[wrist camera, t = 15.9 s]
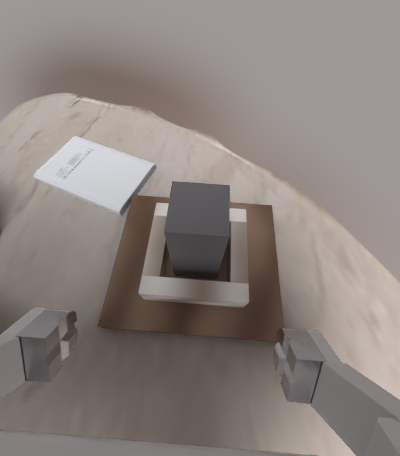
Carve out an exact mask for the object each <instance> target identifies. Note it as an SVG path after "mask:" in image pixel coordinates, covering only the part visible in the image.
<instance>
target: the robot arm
mask: <svg viewBox="0 0 400 456" xmlns="http://www.w3.org/2000/svg"><path fill="white" fill-rule="evenodd" d="M76 320H77V318H76V313H75V312H74V311H70V310H61V309H51V308H49V309H48V308H40V307H36V308H32V309H31V310H30V311H29V312H27V313H26V314H25V315H24V316H23V317H21V318H20V319H19V320H18V321H16V322H15V323H14V324H13V325H11V326H10V327H9V328H8V329H7V330H5V331H4V332H3V333H2V334H0V400H1V399H2V398H4V397H5V396H6V395H8V394H9V393H11V392H12V391H14V390H15V389H16V388H18V387H19V386H21V385H22V384H24V383H25V382H26V381H43V382H51V381H52V379H53V378H54V376H55V375H56V374H57V372H58V371H59V369H60V368H61V367H62V360H63V359H65V358H66V357H68V356H69V355H70V354H71V353H72V351H73V350H74V347H75V345H76V342H77V337H78V331H77V329H76V327H75V326H74V325H73V324H74V323H75V322H76ZM276 337H277V339H278V341H279V342H278V343H277V344H276V345H275V346H274V353H273V356H274V365H275V369H276V372H277V373H278V374H279V375H280V376H281V377H282V379H281V386H282V389H283V392H284V394H285V397H286V400H287V401H289V402H298V403H307V404H311V406H312V407H313V408H314V409H315V410H316V411H317V412H318V414H319V415H320V416H321V417H322V418H323V419H324V420H325V421H326V422H327V424H328V425H329V426H330V427H331V428H332V429H333V430H334V431H335V432H336V434H337V435H338V436H339V437H340V438H341V439H342V440H343V441H344V442H345V444H346V445H347V446H348V447H349V448H350V449H351V450H352V451H353V452H354V454H355V455H356V456H400V400H399V399H397V398H396V397H395V396H393V395H392V394H390V393H389V392H387V391H386V390H384V389H383V388H381V387H380V386H378V385H377V384H375V383H374V382H372V381H371V380H370V379H368V378H367V377H365V376H364V375H362V374H361V373H359V372H358V371H356V370H355V369H353V368H352V367H350V366H349V365H347V364H343V363H342V362H341V361H340V359H339V358H338V357H337V355H336V354H335V352H334V351H333V350H332V348H331V347H330V345H329V344H328V343H327V341H326V340H325V338H324V337H323V335H322V334H321V333H320V332H319V331H318V330H298V329H285V328H279V330H278V332H277V336H276ZM0 456H317V455H304V454H292V453H280V452H268V451H255V450H243V449H231V448H218V447H206V446H194V445H181V444H169V443H157V442H144V441H132V440H120V439H108V438H95V437H83V436H71V435H58V434H46V433H34V432H22V431H9V430H0Z"/></svg>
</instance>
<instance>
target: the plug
mask: <svg viewBox="0 0 400 456" xmlns="http://www.w3.org/2000/svg"><path fill="white" fill-rule="evenodd" d="M229 210H230V185H216V184H202V183H188V182H174V181H172V187H171V193H170V199H169V205H168V211H167V217H166V223H165V229H164V234H165V238H166V242H167V246H168V251H169V255H170V259H171V263H172V267H173V271H174V276H183V277H196V278H209V279H216V278H217V275H218V272H219V268H220V265H221V262H222V259H223V255H224V252H225V249H226V246H227V243H228V239H229Z"/></svg>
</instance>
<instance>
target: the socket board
mask: <svg viewBox="0 0 400 456" xmlns="http://www.w3.org/2000/svg"><path fill="white" fill-rule="evenodd" d="M169 199H170V198H164V197H151V196H137V195H133V197H132V201H131V204H130V208H129V212H128V216H127V219H126V223H125V227H124V231H123V234H122V238H121V242H120V246H119V249H118V253H117V257H116V261H115V264H114V268H113V272H112V276H111V279H110V283H109V287H108V290H107V294H106V298H105V302H104V305H103V309H102V313H101V317H100V320H99V324H98V327H102V328H114V329H126V330H138V331H151V332H163V333H175V334H187V335H199V336H212V337H224V338H236V339H248V340H261V341H273V342H279V341H278V339H277V337H276V336H277V332H278V330H279V328H284V327H283V316H282V306H281V296H280V285H279V275H278V265H277V254H276V244H275V234H274V224H273V213H272V206H271V205H258V204H244V203H231V202H230V210H229V239H228V243H227V246H226V249H225V252H224V255H223V259H222V262H221V265H220V268H219V272H218V275H217V278H216V279H209V278H196V277H183V276H174V271H173V267H172V263H171V259H170V255H169V251H168V246H167V242H166V238H165V234H164V229H165V223H166V217H167V211H168V205H169Z"/></svg>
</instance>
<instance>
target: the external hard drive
mask: <svg viewBox="0 0 400 456" xmlns="http://www.w3.org/2000/svg"><path fill="white" fill-rule="evenodd" d="M155 169H156V166H155V164H154V163H151V162H149V161H146V160H143V159H140V158H137V157H134V156H132V155H129V154H126V153H123V152H120V151H117V150H115V149H112V148H109V147H106V146H103V145H100V144H98V143H95V142H92V141H89V140H86V139H83V138H81V137H78V136H74V137H73V138H72V139H70V140H69V141H68V142H67V143H66V144H65V145H64V146H63V147H62V148H61V149H60V150H59V151H58V152H57V153H56V154H54V155H53V156H52V157H51V158H50V159H49V160H48V161H47V162H46V163H45V164H44V165H43V166H42V167H40V168H39V169H38V170H37V171H36V172H35V173H34V175H33V178H34V179H35V180H36V181H38V182H41V183H43V184H45V185H48V186H50V187H52V188H55V189H57V190H59V191H62V192H64V193H67V194H69V195H71V196H74V197H76V198H79V199H81V200H83V201H86V202H88V203H91V204H93V205H95V206H98V207H100V208H103V209H105V210H107V211H110V212H112V213H115V214H117V215H119V216H122V215H123V213H124V212H125V210H126V209H127V208H128V206H129V205H130V204H131V201H132V197H133V195H137V194H138V193H139V191H140V190H141V188H142V187H143V186H144V184H145V183H146V181H147V180H148V179H149V177H150V176H151V175H152V173H153V172H154V171H155Z"/></svg>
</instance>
